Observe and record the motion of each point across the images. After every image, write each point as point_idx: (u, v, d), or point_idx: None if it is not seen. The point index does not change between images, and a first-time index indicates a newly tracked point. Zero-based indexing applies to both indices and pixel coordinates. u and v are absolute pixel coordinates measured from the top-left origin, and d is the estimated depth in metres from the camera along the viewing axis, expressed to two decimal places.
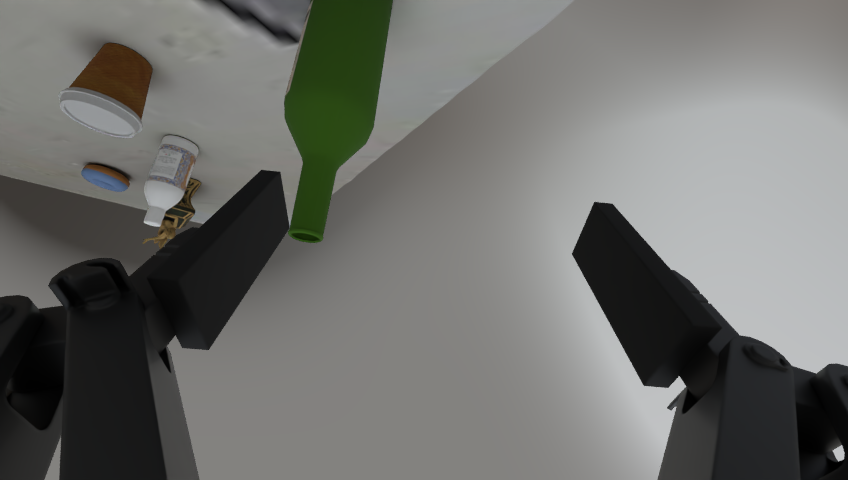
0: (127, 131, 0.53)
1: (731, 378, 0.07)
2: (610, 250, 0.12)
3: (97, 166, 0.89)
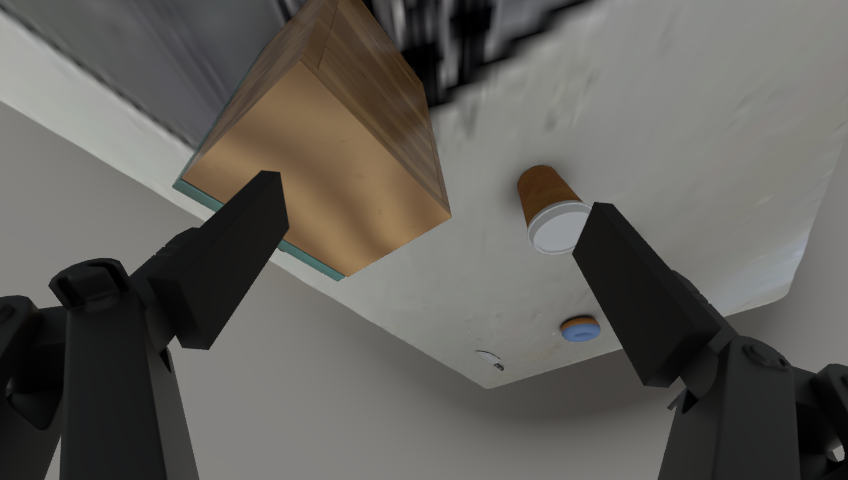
0: None
1: (731, 378, 0.07)
2: (611, 250, 0.12)
3: (568, 322, 0.91)
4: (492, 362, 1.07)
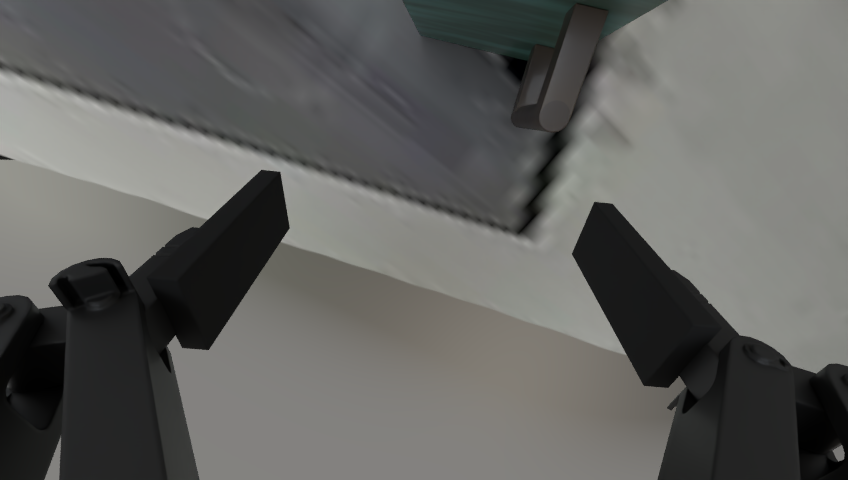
0: None
1: (731, 378, 0.07)
2: (610, 250, 0.12)
3: None
4: None
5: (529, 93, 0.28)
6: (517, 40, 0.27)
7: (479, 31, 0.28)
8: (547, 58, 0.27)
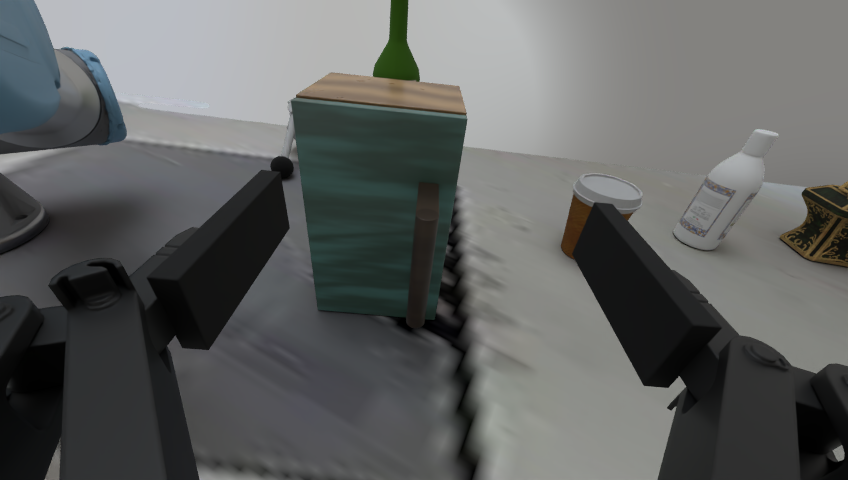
0: (610, 179, 0.51)
1: (731, 378, 0.07)
2: (610, 250, 0.12)
3: None
4: None
5: None
6: (397, 270, 0.36)
7: (367, 267, 0.36)
8: None
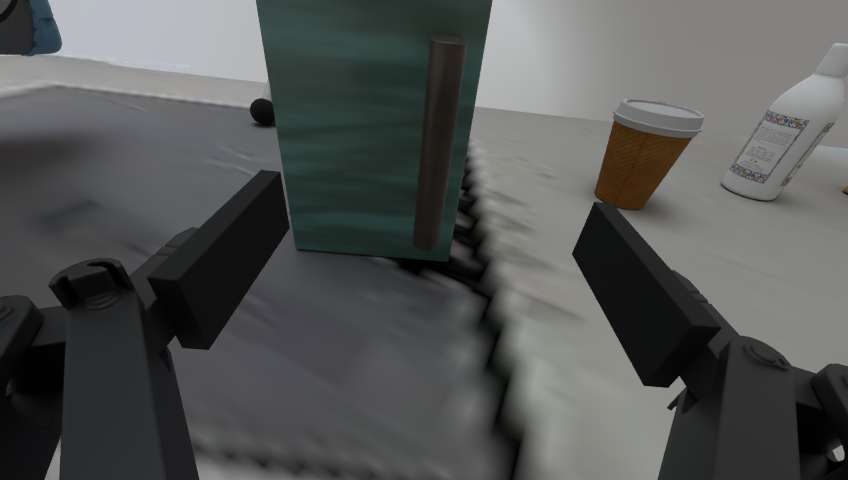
0: (658, 105, 0.42)
1: (731, 378, 0.07)
2: (610, 250, 0.12)
3: None
4: None
5: None
6: (399, 185, 0.27)
7: (359, 182, 0.27)
8: None
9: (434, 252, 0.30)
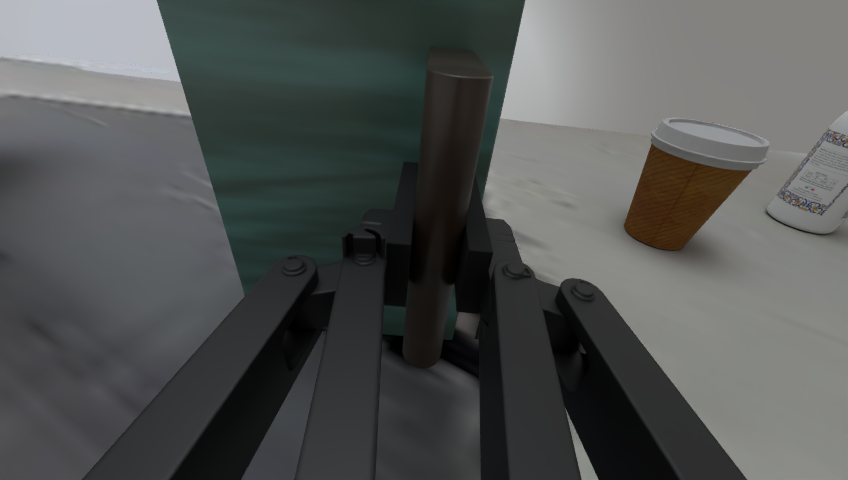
0: (705, 126, 0.35)
1: (500, 302, 0.09)
2: None
3: None
4: None
5: None
6: None
7: (331, 248, 0.19)
8: None
9: None
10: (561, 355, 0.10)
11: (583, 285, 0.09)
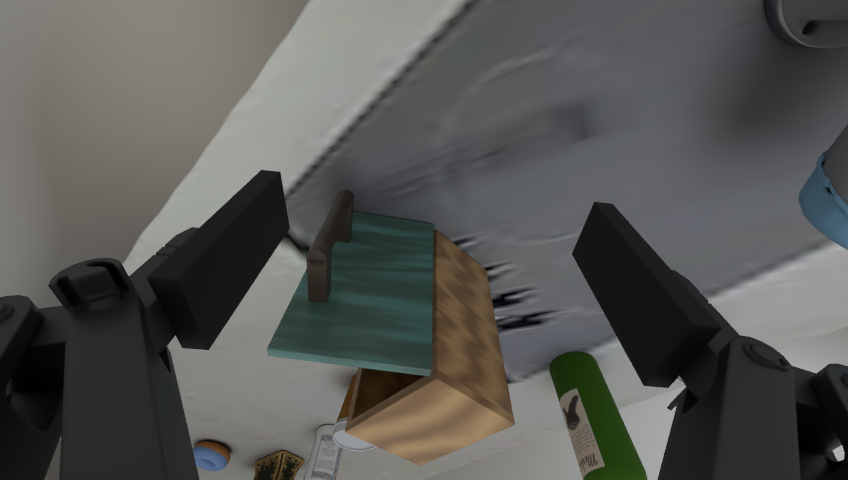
0: (364, 446, 0.64)
1: (731, 378, 0.07)
2: (610, 250, 0.12)
3: (214, 444, 0.89)
4: None
5: None
6: (361, 243, 0.42)
7: (386, 247, 0.42)
8: (338, 236, 0.41)
9: None
10: None
11: None
